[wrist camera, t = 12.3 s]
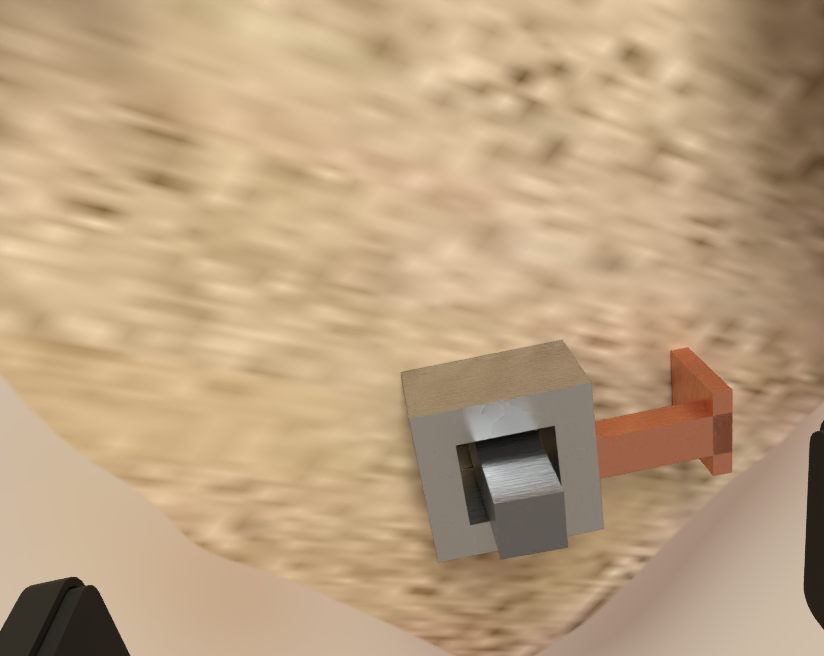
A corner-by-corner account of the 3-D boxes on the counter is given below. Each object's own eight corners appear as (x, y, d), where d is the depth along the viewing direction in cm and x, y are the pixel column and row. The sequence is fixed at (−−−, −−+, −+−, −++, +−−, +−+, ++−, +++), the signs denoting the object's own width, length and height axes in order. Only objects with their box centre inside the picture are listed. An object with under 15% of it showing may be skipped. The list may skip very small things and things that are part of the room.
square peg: (518, 395, 41) (563, 491, 33) (523, 443, 42) (567, 547, 34) (462, 405, 41) (493, 503, 33) (469, 452, 42) (500, 559, 34)
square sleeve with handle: (427, 504, 43) (438, 562, 39) (400, 372, 40) (408, 419, 35) (690, 451, 43) (731, 502, 39) (687, 315, 40) (732, 354, 35)
